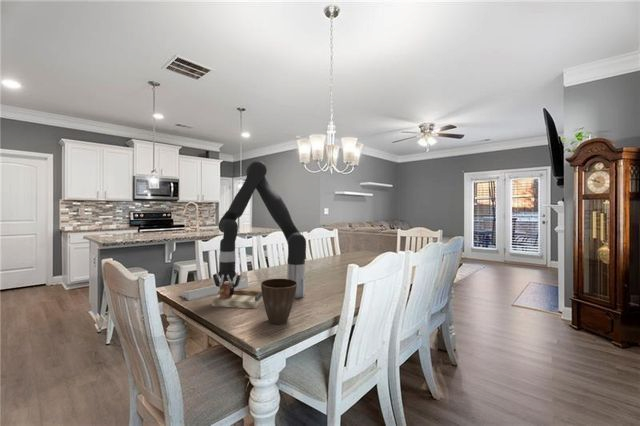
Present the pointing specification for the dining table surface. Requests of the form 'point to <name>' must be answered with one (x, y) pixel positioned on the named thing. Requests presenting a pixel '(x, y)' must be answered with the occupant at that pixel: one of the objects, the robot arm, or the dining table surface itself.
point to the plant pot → (278, 298)
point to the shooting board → (240, 299)
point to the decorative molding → (209, 291)
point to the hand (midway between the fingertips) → (226, 295)
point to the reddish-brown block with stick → (225, 291)
